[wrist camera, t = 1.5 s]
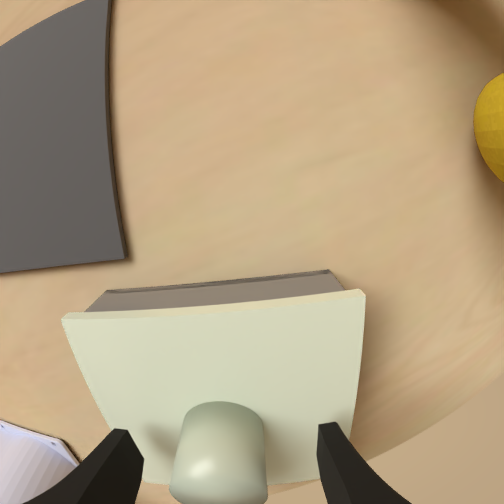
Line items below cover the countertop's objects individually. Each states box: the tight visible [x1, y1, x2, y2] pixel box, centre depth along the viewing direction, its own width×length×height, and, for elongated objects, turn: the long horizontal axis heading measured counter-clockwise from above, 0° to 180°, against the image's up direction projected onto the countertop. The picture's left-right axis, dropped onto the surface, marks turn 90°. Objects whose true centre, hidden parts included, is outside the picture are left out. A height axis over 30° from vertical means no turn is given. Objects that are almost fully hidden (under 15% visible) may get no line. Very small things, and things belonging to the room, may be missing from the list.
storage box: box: [85, 270, 345, 312], centre depth 12 cm, size 10×10×3 cm
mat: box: [0, 0, 128, 273], centre depth 10 cm, size 13×13×1 cm
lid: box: [61, 288, 366, 504], centre depth 9 cm, size 11×11×5 cm
